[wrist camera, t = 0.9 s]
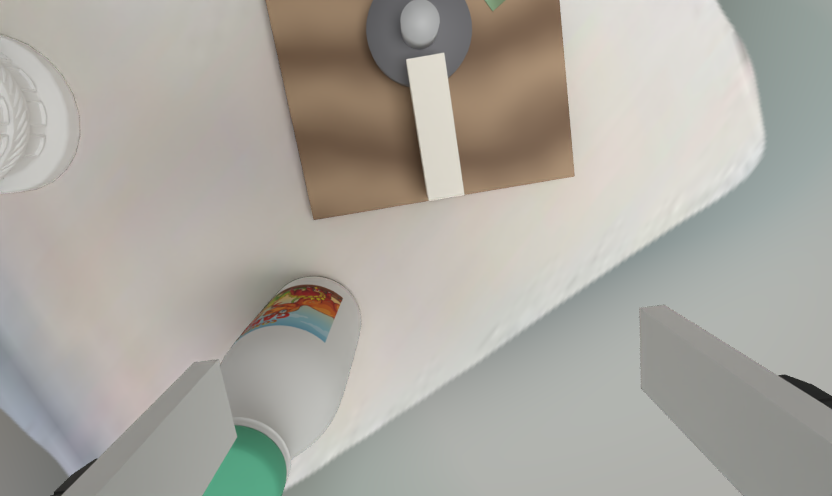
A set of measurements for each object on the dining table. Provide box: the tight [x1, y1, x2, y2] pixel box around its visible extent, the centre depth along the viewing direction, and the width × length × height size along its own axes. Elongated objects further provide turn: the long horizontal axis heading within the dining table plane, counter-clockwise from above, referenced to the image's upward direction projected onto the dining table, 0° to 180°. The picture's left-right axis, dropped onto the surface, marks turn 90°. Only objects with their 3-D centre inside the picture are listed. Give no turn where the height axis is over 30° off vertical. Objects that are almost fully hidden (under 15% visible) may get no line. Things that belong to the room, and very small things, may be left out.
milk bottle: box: [202, 276, 361, 496], centre depth 29 cm, size 8×8×20 cm
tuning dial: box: [366, 0, 472, 201], centre depth 30 cm, size 20×7×4 cm, turn 9°
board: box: [266, 0, 575, 220], centre depth 33 cm, size 22×20×2 cm
